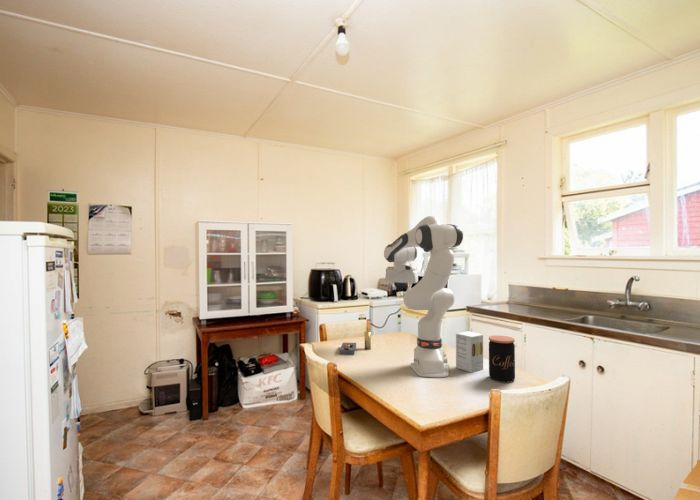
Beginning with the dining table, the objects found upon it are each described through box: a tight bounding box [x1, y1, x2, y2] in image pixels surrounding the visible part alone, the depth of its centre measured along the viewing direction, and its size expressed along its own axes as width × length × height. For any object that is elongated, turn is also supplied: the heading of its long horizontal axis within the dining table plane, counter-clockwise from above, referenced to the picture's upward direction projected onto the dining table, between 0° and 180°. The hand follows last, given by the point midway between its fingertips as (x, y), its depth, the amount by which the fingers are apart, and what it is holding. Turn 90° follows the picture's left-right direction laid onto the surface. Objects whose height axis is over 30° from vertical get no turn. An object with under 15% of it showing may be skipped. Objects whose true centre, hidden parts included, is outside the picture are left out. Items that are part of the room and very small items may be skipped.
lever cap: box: [364, 330, 372, 351], centre depth 206 cm, size 4×4×10 cm
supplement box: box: [455, 330, 484, 373], centre depth 171 cm, size 10×9×17 cm
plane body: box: [339, 342, 357, 356], centre depth 203 cm, size 16×8×5 cm, turn 174°
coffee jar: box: [488, 335, 516, 383], centre depth 157 cm, size 11×11×18 cm
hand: (401, 290), depth 208 cm, fingers open, 8 cm apart
